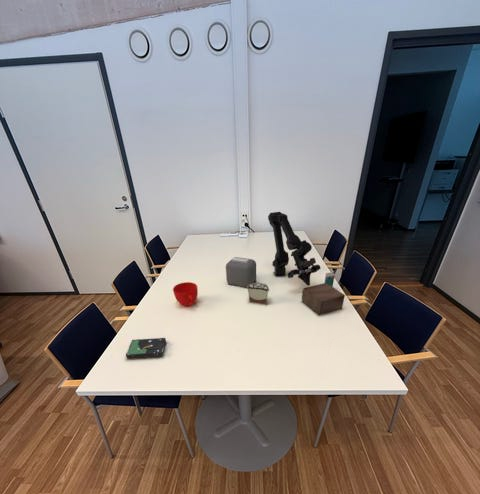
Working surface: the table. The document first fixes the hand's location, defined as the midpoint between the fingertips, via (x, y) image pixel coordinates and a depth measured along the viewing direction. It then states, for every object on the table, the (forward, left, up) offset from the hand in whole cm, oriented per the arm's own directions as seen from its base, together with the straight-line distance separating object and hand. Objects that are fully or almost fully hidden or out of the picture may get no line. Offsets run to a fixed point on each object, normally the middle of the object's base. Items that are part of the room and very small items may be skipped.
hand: (308, 285), depth 147 cm
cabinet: (+3, -12, -6) cm, 14 cm away
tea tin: (+13, +4, -6) cm, 15 cm away
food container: (-28, -1, -6) cm, 29 cm away
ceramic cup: (-67, +2, -6) cm, 68 cm away
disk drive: (-84, -34, -6) cm, 91 cm away
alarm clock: (-35, +23, -6) cm, 43 cm away
